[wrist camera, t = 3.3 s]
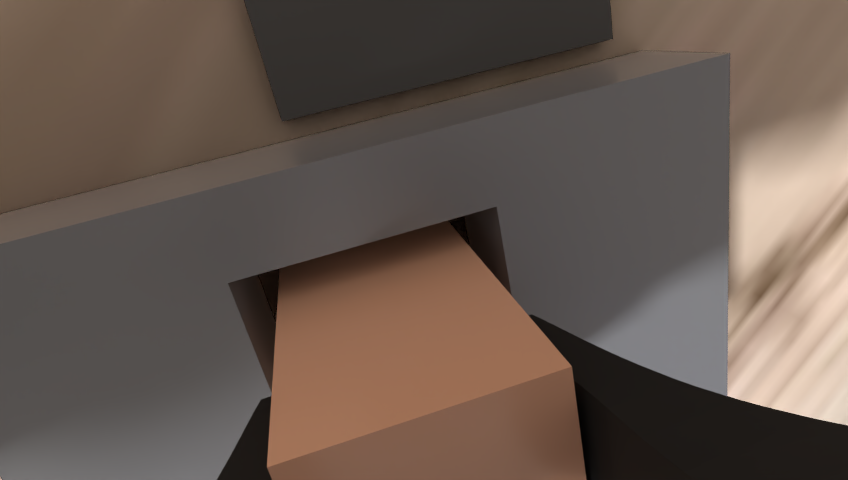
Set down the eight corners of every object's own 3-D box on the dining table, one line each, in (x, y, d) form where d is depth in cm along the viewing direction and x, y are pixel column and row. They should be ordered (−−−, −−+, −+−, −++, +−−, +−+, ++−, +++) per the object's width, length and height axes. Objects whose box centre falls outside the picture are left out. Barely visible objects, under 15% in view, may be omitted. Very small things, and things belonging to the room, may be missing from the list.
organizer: (642, 50, 14) (730, 52, 11) (657, 346, 17) (727, 404, 14) (-35, 222, 12) (-137, 279, 9) (138, 519, 15) (103, 626, 12)
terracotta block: (439, 211, 13) (572, 366, 7) (468, 344, 15) (598, 571, 9) (280, 255, 13) (267, 467, 7) (327, 389, 14) (352, 667, 8)
